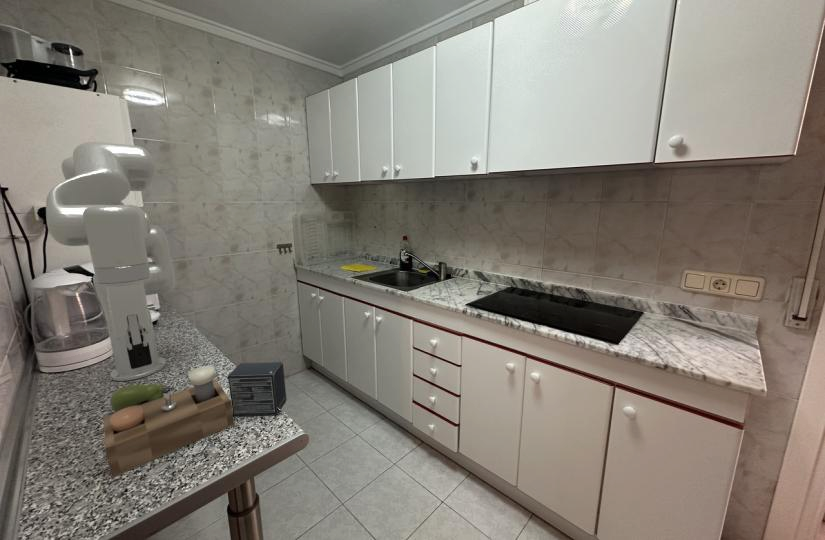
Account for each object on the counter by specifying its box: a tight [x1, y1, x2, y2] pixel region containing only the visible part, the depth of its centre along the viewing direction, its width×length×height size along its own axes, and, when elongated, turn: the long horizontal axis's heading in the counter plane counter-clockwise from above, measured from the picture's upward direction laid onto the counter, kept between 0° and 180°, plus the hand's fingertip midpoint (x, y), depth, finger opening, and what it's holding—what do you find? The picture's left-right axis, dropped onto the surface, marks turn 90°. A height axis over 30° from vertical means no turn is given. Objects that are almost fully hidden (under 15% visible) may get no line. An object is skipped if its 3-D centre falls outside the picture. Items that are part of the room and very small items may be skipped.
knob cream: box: [188, 365, 217, 404], centre depth 71 cm, size 5×5×8 cm
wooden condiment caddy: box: [103, 379, 235, 478], centre depth 68 cm, size 12×20×6 cm, turn 134°
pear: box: [109, 383, 164, 411], centre depth 79 cm, size 6×5×10 cm
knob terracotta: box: [110, 405, 144, 433], centre depth 63 cm, size 5×5×8 cm
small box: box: [227, 361, 287, 418], centre depth 76 cm, size 11×6×10 cm, turn 92°
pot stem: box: [162, 386, 177, 412], centre depth 67 cm, size 2×2×5 cm
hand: (141, 365), depth 63 cm, fingers closed
